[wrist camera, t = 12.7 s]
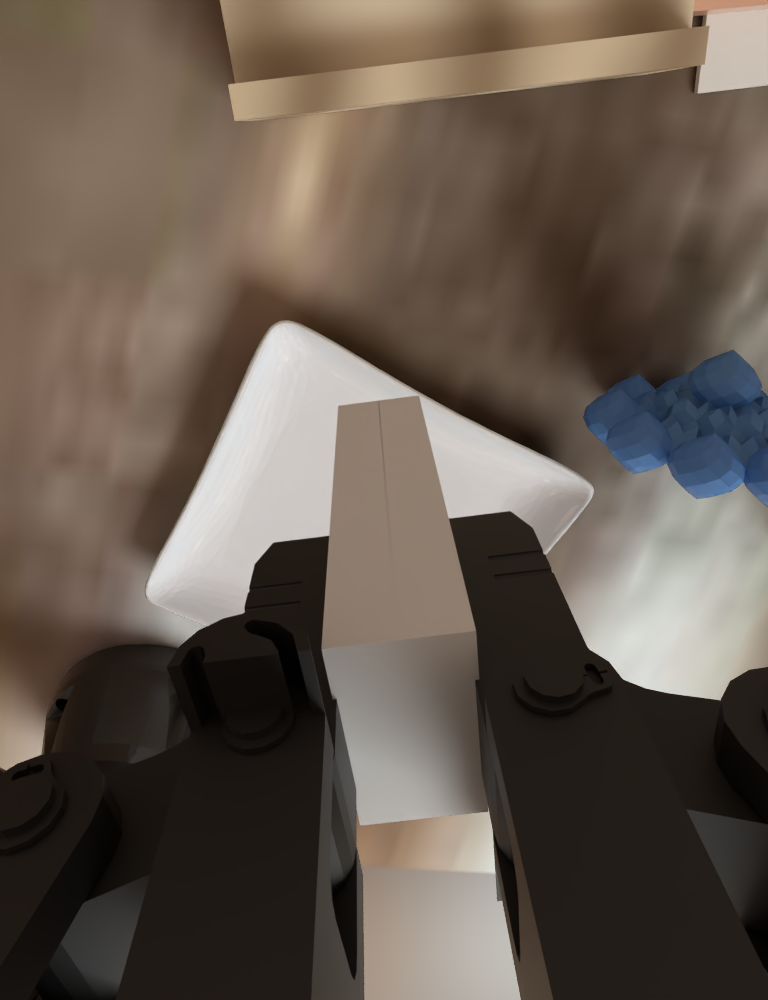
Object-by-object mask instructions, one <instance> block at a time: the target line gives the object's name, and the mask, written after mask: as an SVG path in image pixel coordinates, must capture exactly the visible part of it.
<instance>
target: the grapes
mask: <svg viewBox="0 0 768 1000" xmlns="http://www.w3.org/2000/svg"><path fill="white" fill-rule="evenodd" d="M761 386H762V385H761V382H760V380H759V378H758V376H757V374H756V372H755V371H754V369H753V368H752V367H751V366H750V365H749V364H748V363H747V362H746V361H745V360H744V359H743V358H742V357H741V356H740V355H738V354H737V353H736V352H735V351H734V350H732V351H729V352H726V353H723V354H720V355H718V356H715V357H713V358H710V359H708V360H705V361H704V362H703V363H701V364H700V365H699V366H697V367H696V368H695V369H694V370H692V371H691V372H690V373H687V374H683V375H680V376H678V377H675V378H673V379H670V380H668V381H666V382H665V383H663V384H662V385H661V386H659V387H658V388H657V389H655V388H654V387H653V386H652V385H651V384H650V383H649V382H648V381H647V380H645V379H644V378H643V377H642V376H640V375H639V374H638V375H635V376H633V377H630V378H627V379H625V380H623V381H620V382H618V383H616V384H615V385H614V386H613V387H611V388H610V389H609V390H608V391H607V392H606V393H605V394H604V395H602V396H600V397H598V398H597V399H595V400H594V401H593V402H592V403H591V404H589V405H588V406H587V407H586V409H585V413H584V416H583V418H584V420H585V423H586V425H587V428H588V429H589V430H590V431H591V432H592V433H593V434H594V435H595V436H596V437H597V438H598V439H599V440H600V441H601V442H603V443H604V444H605V445H607V446H608V448H609V451H610V453H611V454H612V455H613V456H614V457H615V458H616V459H617V460H618V461H619V462H620V463H621V464H622V465H623V466H624V467H625V468H626V469H628V470H629V471H630V472H632V473H633V474H635V473H641V472H645V471H648V470H651V469H654V468H657V467H660V466H662V465H664V464H665V463H666V462H668V463H667V465H668V467H669V469H670V471H671V474H672V476H673V477H674V479H675V480H676V481H677V482H678V483H679V484H680V485H681V486H682V487H683V488H684V489H685V490H686V491H687V492H688V493H690V494H691V495H692V496H693V497H695V498H696V499H700V498H708V497H713V496H717V495H721V494H724V493H727V492H731V491H733V490H734V489H735V488H737V487H738V486H739V485H740V484H742V483H743V482H744V483H745V485H746V487H747V488H748V490H749V491H750V492H751V493H752V494H753V495H754V496H755V497H756V498H757V499H758V500H760V501H761V502H762V503H763V504H765V505H766V506H767V507H768V396H767V395H766V394H765V393H764V392H763V391H762V390H761Z"/></svg>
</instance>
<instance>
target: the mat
mask: <svg viewBox="0 0 768 1000" xmlns="http://www.w3.org/2000/svg"><path fill="white" fill-rule="evenodd" d="M709 25H710V26H709ZM702 26H709V34H708V42H707V50H706V59H705V64H704V65H699V66H697V72H696V81H695V89H694V94H698V93H706V92H715V91H723V90H732V89H740V88H749V87H757V86H765V85H768V10H757V11H745V12H734V13H723V14H712V15H703V21H702Z"/></svg>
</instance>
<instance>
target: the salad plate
mask: <svg viewBox="0 0 768 1000" xmlns="http://www.w3.org/2000/svg"><path fill="white" fill-rule="evenodd" d="M418 395H419V398H420V402H421V406H422V411H423V415H424V419H425V423H426V427H427V431H428V435H429V439H430V443H431V448H432V452H433V456H434V460H435V464H436V468H437V472H438V476H439V480H440V485H441V489H442V493H443V497H444V501H445V505H446V509H447V513H448V517H449V518H458V517H466V516H474V515H482V514H490V513H498V512H506V511H511V512H512V513H514V514H515V515H516V516H518V517H519V518H520V519H522V520H523V521H524V522H526V523H527V524H528V525H530V526H531V527H533V529H534V531H535V534H536V536H537V538H538V540H539V542H540V545H541V547H542V549H543V554H545V555H546V554H547V553H548V552H549V550H550V549H551V548H552V547H553V546H554V545H555V543H556V542H557V541H558V540H559V539H560V538H561V536H562V535H563V534H564V533H565V532H566V531H567V529H568V528H569V527H570V526H571V525H572V523H573V522H574V521H575V520H576V518H577V517H578V516H579V515H580V513H581V512H582V511H583V509H584V508H585V507H586V506H587V504H588V503H589V501H590V500H591V498H592V496H593V493H594V488H593V486H592V485H591V484H590V482H589V481H588V480H587V479H585V478H584V477H583V476H581V475H580V474H578V473H576V472H574V471H573V470H571V469H569V468H568V467H566V466H564V465H562V464H560V463H558V462H556V461H554V460H552V459H550V458H548V457H546V456H544V455H542V454H540V453H538V452H536V451H533V450H531V449H529V448H527V447H525V446H523V445H521V444H519V443H516V442H514V441H512V440H510V439H508V438H506V437H504V436H502V435H500V434H498V433H496V432H494V431H492V430H490V429H488V428H486V427H484V426H482V425H480V424H478V423H476V422H474V421H472V420H470V419H468V418H466V417H464V416H462V415H460V414H458V413H457V412H455V411H453V410H451V409H449V408H447V407H445V406H444V405H442V404H440V403H438V402H436V401H434V400H433V399H431V398H429V397H427V396H425V395H424V394H422V393H420V392H418V391H416V390H415V389H413V388H411V387H409V386H408V385H406V384H404V383H402V382H401V381H399V380H397V379H396V378H394V377H392V376H391V375H389V374H387V373H386V372H384V371H382V370H380V369H378V368H377V367H375V366H374V365H372V364H371V363H369V362H367V361H366V360H364V359H362V358H361V357H359V356H357V355H356V354H354V353H352V352H351V351H349V350H347V349H346V348H344V347H342V346H341V345H339V344H337V343H336V342H334V341H332V340H330V339H328V338H327V337H325V336H323V335H321V334H319V333H318V332H316V331H314V330H312V329H310V328H308V327H306V326H304V325H302V324H300V323H297V322H294V321H289V320H282V321H278V322H276V323H274V324H273V325H272V326H271V327H270V328H269V329H268V331H267V332H266V333H265V335H264V337H263V338H262V340H261V342H260V343H259V345H258V347H257V349H256V351H255V354H254V356H253V358H252V360H251V362H250V364H249V366H248V368H247V371H246V373H245V375H244V378H243V380H242V382H241V385H240V387H239V389H238V392H237V394H236V396H235V398H234V401H233V403H232V405H231V407H230V410H229V412H228V414H227V417H226V419H225V421H224V423H223V426H222V428H221V430H220V432H219V434H218V437H217V439H216V441H215V443H214V445H213V448H212V450H211V452H210V454H209V456H208V459H207V461H206V463H205V465H204V468H203V470H202V472H201V474H200V476H199V478H198V480H197V482H196V484H195V486H194V488H193V490H192V492H191V494H190V496H189V498H188V500H187V502H186V504H185V506H184V508H183V510H182V512H181V514H180V516H179V518H178V520H177V522H176V524H175V526H174V528H173V529H172V531H171V533H170V535H169V537H168V539H167V540H166V542H165V544H164V546H163V548H162V550H161V552H160V553H159V555H158V557H157V559H156V561H155V562H154V565H153V567H152V569H151V572H150V574H149V576H148V579H147V582H146V586H145V595H146V598H147V599H148V600H149V601H150V602H151V603H153V604H155V605H157V606H159V607H161V608H163V609H165V610H167V611H170V612H172V613H175V614H177V615H179V616H182V617H184V618H187V619H189V620H191V621H194V622H197V623H199V624H202V625H205V626H209V625H211V624H213V623H215V622H217V621H219V620H221V619H223V618H227V617H231V616H235V615H239V614H243V613H245V609H244V607H245V602H246V598H247V594H248V592H249V586H250V582H251V577H252V573H253V569H254V565H255V563H256V562H257V561H258V560H259V559H260V557H261V556H262V555H263V554H264V553H265V552H266V550H267V549H268V548H269V547H270V546H271V545H272V543H274V542H282V541H290V540H298V539H306V538H314V537H323V536H329V532H330V517H331V503H332V489H333V474H334V460H335V445H336V431H337V416H338V406H340V405H347V404H355V403H363V402H371V401H379V400H386V399H394V398H402V397H410V396H418Z"/></svg>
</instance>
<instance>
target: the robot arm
mask: <svg viewBox="0 0 768 1000" xmlns="http://www.w3.org/2000/svg"><path fill="white" fill-rule="evenodd" d="M244 609H245V613H243V614H239V615H235V616H231V617H227V618H223V619H221V620H219V621H217V622H215V623H213V624H211V625H209V626H207V627H205V628H203V629H201V630H199V631H197V632H196V633H195V634H194V635H193V636H191V637H190V638H189V639H188V640H187V641H186V642H184V643H183V644H182V645H181V646H180V647H179V648H178V649H177V650H176V649H171V648H167V647H161V646H152V645H128V646H120V647H114V648H110V649H106V650H103V651H100V652H97V653H95V654H92V655H90V656H88V657H87V658H85V659H83V660H82V661H80V662H79V663H77V664H76V665H75V666H74V667H73V668H72V669H71V670H70V671H69V672H68V673H67V675H66V676H65V677H64V679H63V681H62V682H61V684H60V686H59V688H58V690H57V692H56V693H55V695H54V697H53V699H52V701H51V703H50V706H49V709H48V712H47V716H46V723H45V731H44V739H43V747H42V755H40V756H37V757H35V758H32V759H29V760H26V761H24V762H21V763H18V764H16V765H15V766H13V767H11V768H10V769H8V770H7V771H6V770H4V769H2V768H0V1000H364V934H363V874H362V869H361V864H360V860H359V855H358V851H357V847H356V808H357V813H358V817H359V822H360V826H361V825H370V824H379V823H388V822H397V821H406V820H415V819H424V818H433V817H442V816H452V815H461V814H470V813H479V812H488V808H489V813H490V818H491V823H492V828H493V840H494V855H495V871H496V887H497V901H503V906H504V911H505V917H506V922H507V928H508V933H509V937H510V943H511V949H512V954H513V959H514V965H515V970H516V975H517V981H518V986H519V991H520V997H521V1000H768V667H766V668H759V669H752V670H749V671H747V672H745V673H743V674H742V675H740V676H738V677H737V678H735V679H733V680H731V681H730V683H729V685H728V687H727V689H726V691H725V693H724V694H723V696H722V698H721V701H720V700H713V699H705V698H698V697H691V696H683V695H676V694H668V693H664V692H659V691H654V690H650V689H645V688H643V687H640V686H638V685H635V684H633V683H630V682H627V681H625V680H623V679H622V678H621V677H620V675H619V674H618V673H617V672H616V670H615V669H614V668H613V666H612V665H611V664H610V663H609V662H608V661H607V660H605V659H604V658H602V657H600V656H599V655H597V654H596V653H594V652H592V651H591V650H589V649H588V647H587V646H586V644H585V641H584V639H583V637H582V635H581V633H580V630H579V628H578V626H577V624H576V622H575V619H574V617H573V615H572V613H571V611H570V608H569V606H568V604H567V602H566V600H565V597H564V595H563V593H562V591H561V589H560V586H559V584H558V582H557V580H556V578H555V575H554V573H552V571H551V567H550V564H549V562H548V560H547V558H546V556H545V554H543V549H542V547H541V545H540V542H539V540H538V538H537V536H536V534H535V531H534V529H533V527H531V526H530V525H528V524H527V523H526V522H524V521H523V520H522V519H520V518H519V517H518V516H516V515H515V514H514V513H512V512H511V511H506V512H498V513H490V514H482V515H474V516H466V517H458V518H449V517H448V513H447V509H446V505H445V501H444V497H443V493H442V489H441V485H440V480H439V476H438V472H437V468H436V464H435V460H434V456H433V452H432V448H431V443H430V439H429V435H428V431H427V427H426V423H425V419H424V415H423V411H422V406H421V402H420V398H419V395H418V396H410V397H402V398H394V399H386V400H379V401H371V402H363V403H355V404H347V405H340V406H338V416H337V431H336V445H335V460H334V474H333V489H332V503H331V517H330V532H329V536H323V537H314V538H306V539H298V540H290V541H282V542H274V543H272V545H271V546H270V547H269V548H268V549H267V550H266V552H265V553H264V554H263V555H262V556H261V557H260V559H259V560H258V561H257V562H256V563H255V565H254V569H253V573H252V577H251V582H250V586H249V592H248V594H247V598H246V602H245V607H244Z"/></svg>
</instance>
